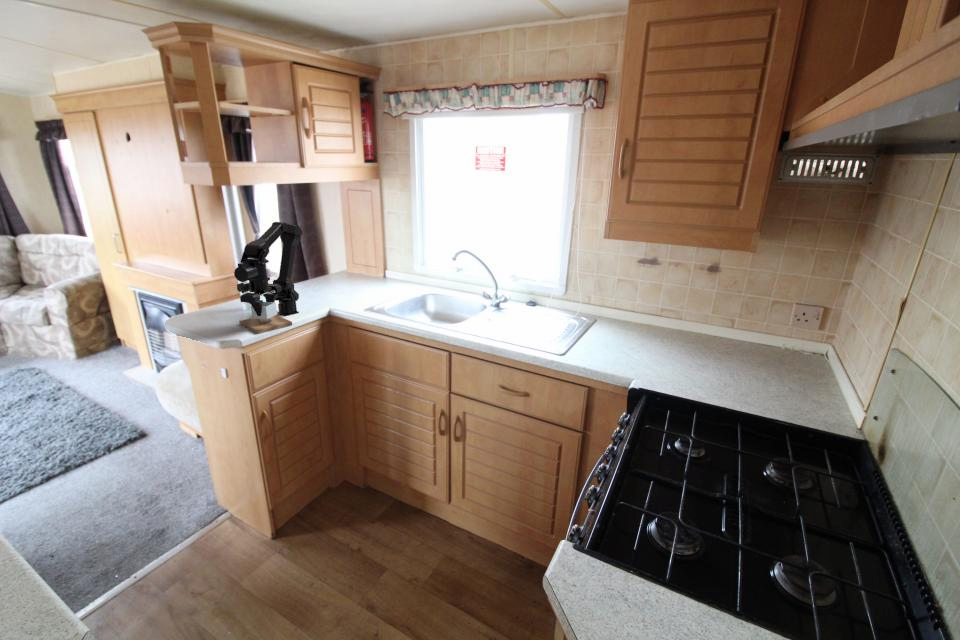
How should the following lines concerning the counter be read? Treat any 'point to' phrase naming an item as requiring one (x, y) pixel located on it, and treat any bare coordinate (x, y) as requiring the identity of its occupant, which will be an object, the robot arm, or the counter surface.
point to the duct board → (265, 324)
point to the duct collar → (265, 311)
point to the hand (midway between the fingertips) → (264, 313)
